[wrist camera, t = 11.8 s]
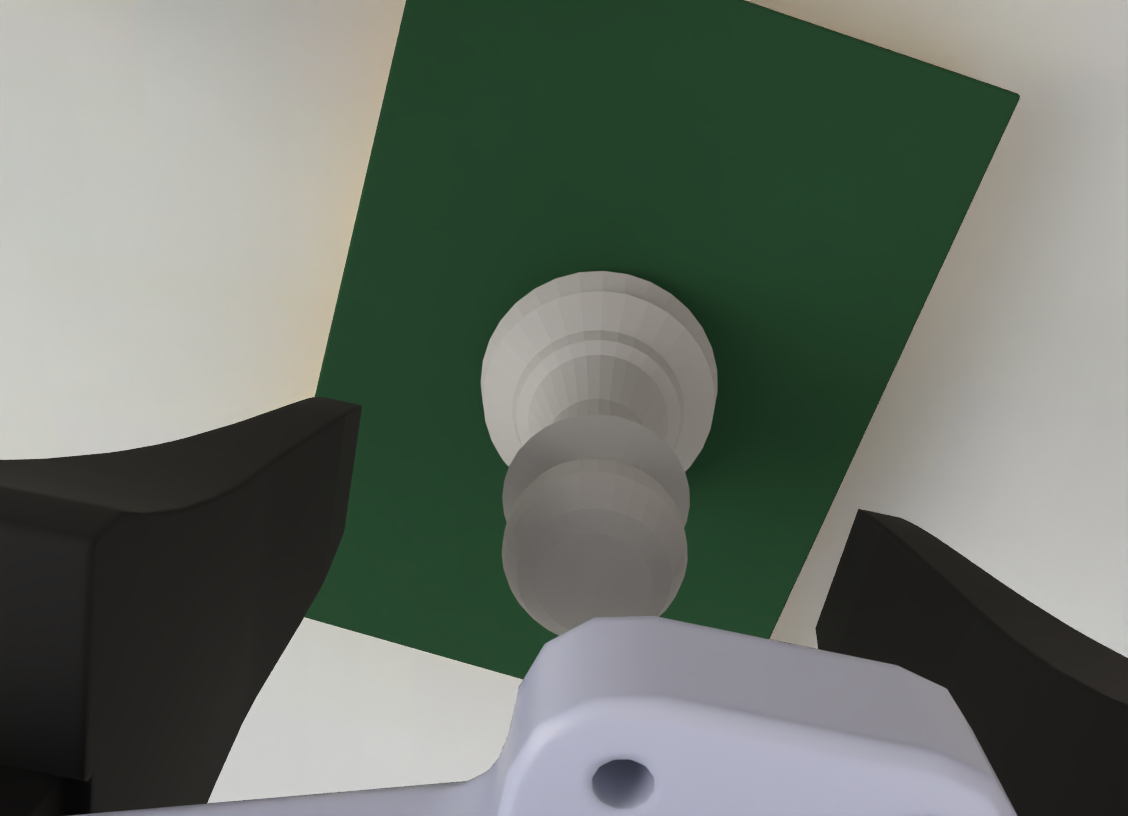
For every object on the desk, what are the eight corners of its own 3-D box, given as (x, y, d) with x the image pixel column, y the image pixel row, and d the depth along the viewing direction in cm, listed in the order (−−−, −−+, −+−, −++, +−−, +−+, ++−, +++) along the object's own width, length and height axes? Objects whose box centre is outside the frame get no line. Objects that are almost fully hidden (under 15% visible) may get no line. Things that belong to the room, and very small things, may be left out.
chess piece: (745, 445, 20) (828, 691, 12) (533, 515, 21) (492, 785, 13) (672, 232, 18) (716, 364, 11) (446, 315, 19) (342, 492, 12)
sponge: (297, 554, 24) (265, 607, 22) (451, -90, 19) (430, -107, 16) (713, 674, 25) (724, 738, 23) (975, 88, 19) (1022, 95, 17)
